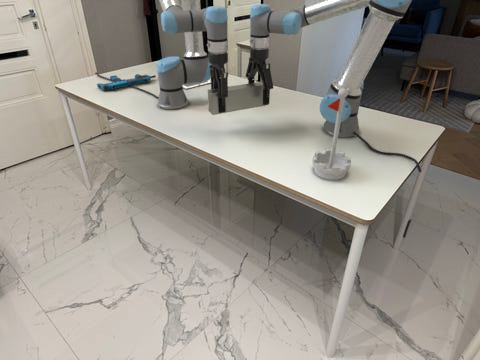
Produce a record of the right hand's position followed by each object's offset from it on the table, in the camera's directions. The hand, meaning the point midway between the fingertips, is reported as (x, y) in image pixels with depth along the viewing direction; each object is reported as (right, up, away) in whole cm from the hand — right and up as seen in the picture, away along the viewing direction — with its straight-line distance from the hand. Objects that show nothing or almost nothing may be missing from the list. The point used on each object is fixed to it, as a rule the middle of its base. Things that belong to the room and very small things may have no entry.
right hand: (258, 99), depth 147 cm
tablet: (-42, +28, +66) cm, 84 cm away
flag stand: (+24, -32, -26) cm, 48 cm away
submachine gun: (-78, +25, +62) cm, 103 cm away
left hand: (-16, -6, -5) cm, 18 cm away
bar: (-8, -4, -1) cm, 9 cm away
